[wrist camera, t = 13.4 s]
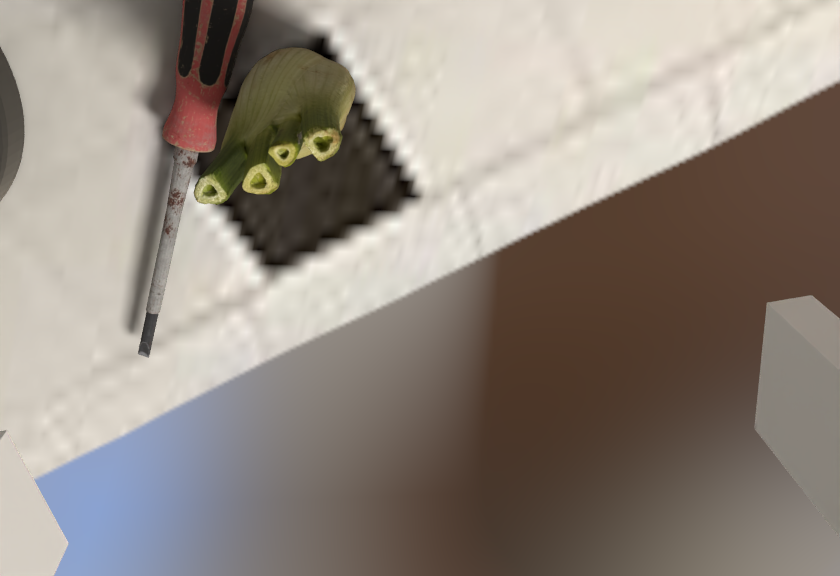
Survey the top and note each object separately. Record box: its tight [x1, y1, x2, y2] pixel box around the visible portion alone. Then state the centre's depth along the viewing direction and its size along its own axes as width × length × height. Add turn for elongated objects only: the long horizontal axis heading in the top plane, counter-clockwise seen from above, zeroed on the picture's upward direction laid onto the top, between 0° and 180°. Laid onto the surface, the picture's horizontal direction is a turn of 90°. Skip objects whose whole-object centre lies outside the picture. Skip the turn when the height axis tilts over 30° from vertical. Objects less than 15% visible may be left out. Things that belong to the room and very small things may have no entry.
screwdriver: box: [138, 0, 253, 358], centre depth 35 cm, size 25×3×3 cm, turn 160°
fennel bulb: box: [194, 47, 356, 205], centre depth 30 cm, size 6×5×12 cm
